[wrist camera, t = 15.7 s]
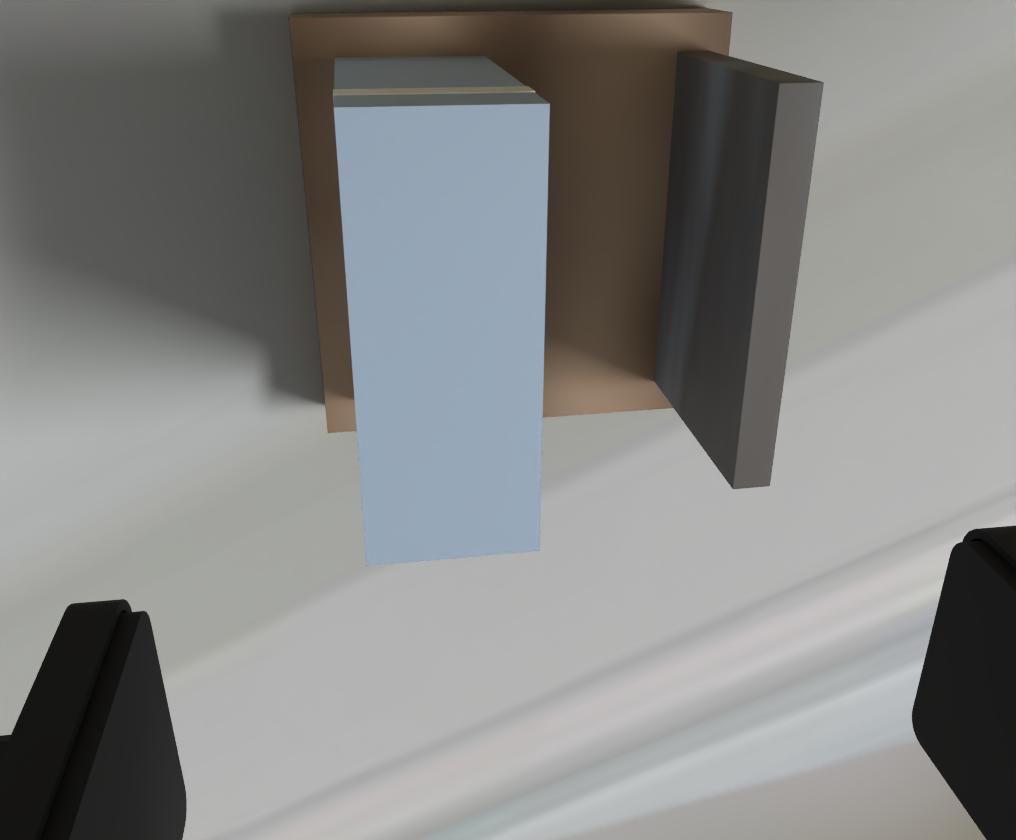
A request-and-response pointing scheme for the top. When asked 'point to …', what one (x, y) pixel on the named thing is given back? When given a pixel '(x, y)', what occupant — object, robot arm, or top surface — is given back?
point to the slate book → (444, 301)
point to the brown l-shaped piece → (615, 208)
